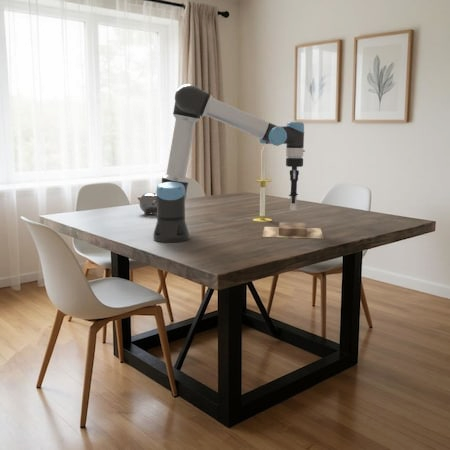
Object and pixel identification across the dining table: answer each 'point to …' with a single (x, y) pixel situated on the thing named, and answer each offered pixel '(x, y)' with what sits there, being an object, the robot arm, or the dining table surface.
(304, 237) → the light wooden board
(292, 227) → the panel
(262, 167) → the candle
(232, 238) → the dining table surface
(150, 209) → the piggy bank
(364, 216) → the dining table surface
